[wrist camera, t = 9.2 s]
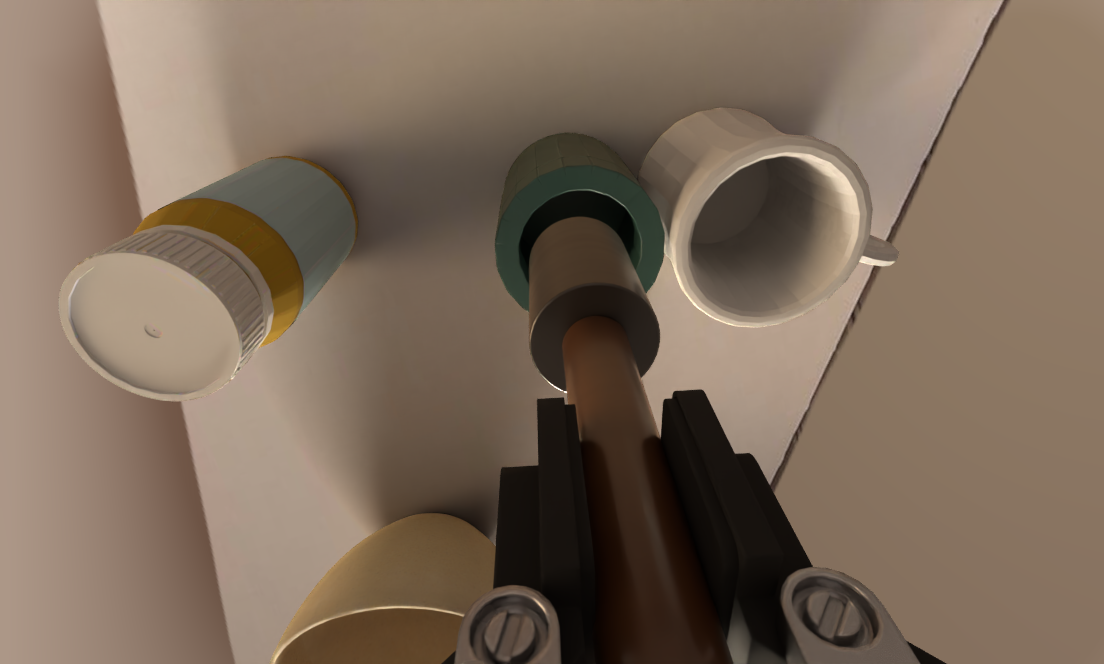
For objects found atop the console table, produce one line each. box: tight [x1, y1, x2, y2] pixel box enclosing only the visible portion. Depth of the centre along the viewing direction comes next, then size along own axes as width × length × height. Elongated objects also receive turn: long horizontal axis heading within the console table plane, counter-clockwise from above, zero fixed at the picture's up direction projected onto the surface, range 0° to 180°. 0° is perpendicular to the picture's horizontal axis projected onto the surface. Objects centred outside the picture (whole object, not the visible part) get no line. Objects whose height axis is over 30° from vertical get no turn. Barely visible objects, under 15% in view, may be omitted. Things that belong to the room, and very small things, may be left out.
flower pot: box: [269, 513, 496, 664], centre depth 42 cm, size 18×18×12 cm
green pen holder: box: [495, 133, 665, 312], centre depth 29 cm, size 8×8×9 cm
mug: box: [638, 107, 899, 327], centre depth 29 cm, size 12×9×10 cm
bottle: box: [58, 156, 358, 401], centre depth 27 cm, size 7×7×15 cm
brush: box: [529, 217, 734, 664], centre depth 13 cm, size 4×4×16 cm
